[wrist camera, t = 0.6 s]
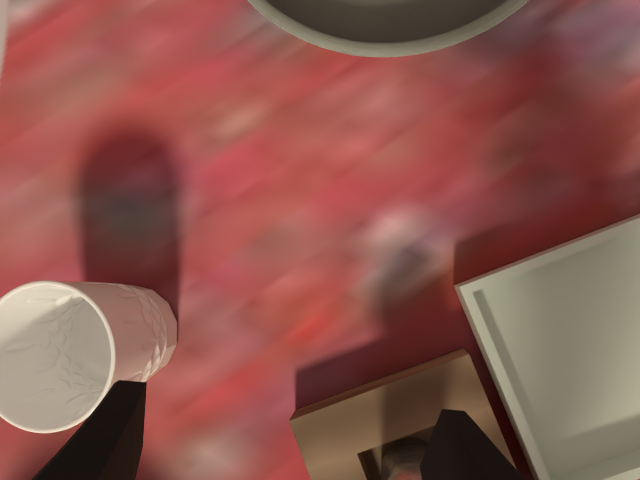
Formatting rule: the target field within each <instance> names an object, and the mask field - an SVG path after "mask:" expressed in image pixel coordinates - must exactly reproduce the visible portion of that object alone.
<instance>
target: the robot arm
mask: <svg viewBox="0 0 640 480" xmlns="http://www.w3.org/2000/svg"><path fill="white" fill-rule="evenodd" d="M146 384H147V382H137V381H126V380H118V381H117V382H115V383H114V384H113V385H112V387H111V388H110V390H109V391H108V393H107V394H106V395H105V397H104V398H103V399H102V401H101V402H100V403H99V405H98V406H97V407H96V408H95V410H94V411H93V412H92V413H91V415H90V416H89V417H88V418H87V419H86V421H85V422H84V423H83V424H82V426H81V427H80V428H79V429H78V430H77V431H76V432H75V434H74V435H73V436H72V437H71V438H70V439H69V440H68V442H67V443H66V444H65V445H64V446H63V447H62V448H61V449H60V451H59V452H58V453H57V454H56V455H55V456H54V457H53V458H52V459H51V460H50V461H49V462H48V463H47V464H46V465H45V466H44V467H43V468H42V469H41V470H40V471H39V472H38V473H37V475H36V476H35V477H34V478H33V479H32V480H135V477H136V473H137V468H138V464H139V460H140V456H141V451H142V447H143V432H144V416H145V400H146ZM420 471H421V477H422V480H525V478H524V477H523V476H522V475H521V474H520V473H519V472H518V471H517V470H516V469H515V467H514V466H513V465H512V464H511V463H510V462H509V461H508V460H507V458H506V457H505V456H504V455H503V454H502V453H501V452H500V450H499V449H498V448H497V447H496V446H495V445H494V443H493V442H492V441H491V440H490V439H489V438H488V437H487V435H486V434H485V433H484V432H483V431H482V430H481V428H480V427H479V426H478V425H477V424H476V423H475V422H474V420H473V419H472V418H471V417H470V416H469V415H468V414H467V413H466V412H465V411H461V410H450V409H442V410H441V412H440V415H439V418H438V420H437V423H436V425H435V428H434V431H433V433H432V436H431V438H430V441H429V444H428V446H427V449H426V451H425V454H424V456H423V459H422V462H421V464H420Z"/></svg>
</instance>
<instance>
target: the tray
mask: <svg viewBox="0 0 640 480" xmlns="http://www.w3.org/2000/svg"><path fill="white" fill-rule="evenodd" d="M453 286H454V288H455V290H456V293H457V295H458V298H459V300H460V302H461V305H462V307H463V310H464V312H465V314H466V317H467V319H468V322H469V324H470V326H471V329H472V331H473V334H474V336H475V338H476V341H477V343H478V346H479V348H480V351H481V353H482V355H483V358H484V360H485V363H486V365H487V367H488V370H489V372H490V375H491V377H492V379H493V382H494V384H495V387H496V389H497V391H498V394H499V396H500V399H501V401H502V403H503V406H504V408H505V411H506V413H507V416H508V418H509V420H510V423H511V425H512V428H513V430H514V432H515V435H516V437H517V440H518V442H519V444H520V447H521V449H522V452H523V454H524V456H525V459H526V461H527V464H528V466H529V468H530V471H531V473H532V476H533V478H534V480H637V479H639V478H640V214H638V215H635V216H632V217H630V218H627V219H625V220H622V221H619V222H617V223H614V224H612V225H609V226H606V227H604V228H601V229H599V230H596V231H593V232H591V233H588V234H586V235H583V236H580V237H578V238H575V239H573V240H570V241H567V242H565V243H562V244H560V245H557V246H554V247H552V248H549V249H547V250H544V251H542V252H539V253H536V254H534V255H531V256H529V257H526V258H523V259H521V260H518V261H516V262H513V263H510V264H508V265H505V266H503V267H500V268H497V269H495V270H492V271H490V272H487V273H484V274H482V275H479V276H477V277H474V278H471V279H469V280H466V281H464V282H461V283H458V284H456V285H453Z"/></svg>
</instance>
